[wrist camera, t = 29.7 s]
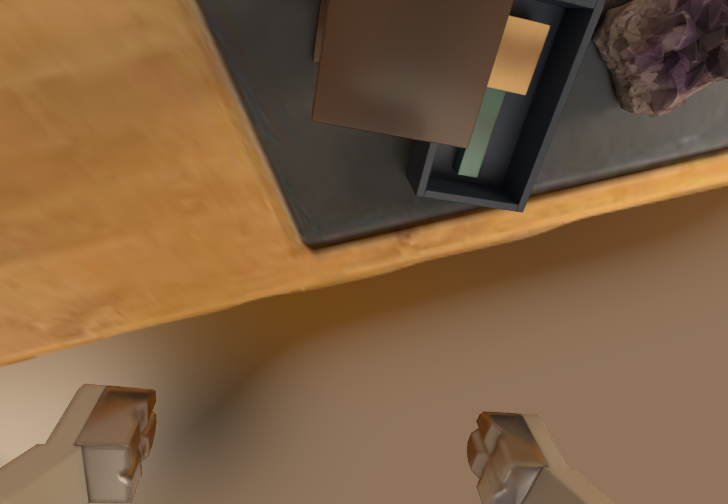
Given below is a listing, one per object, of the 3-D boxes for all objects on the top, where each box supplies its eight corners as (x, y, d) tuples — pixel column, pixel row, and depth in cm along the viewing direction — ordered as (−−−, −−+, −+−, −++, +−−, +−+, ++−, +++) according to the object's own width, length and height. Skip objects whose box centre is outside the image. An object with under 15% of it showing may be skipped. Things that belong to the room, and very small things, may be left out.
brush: (482, 173, 50) (493, 184, 47) (439, 165, 49) (447, 176, 46) (533, 23, 43) (550, 25, 40) (485, 11, 42) (498, 12, 39)
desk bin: (405, 176, 50) (415, 196, 45) (457, -29, 41) (477, -33, 36) (502, 192, 52) (523, 212, 47) (572, 0, 43) (606, 0, 38)
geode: (796, -90, 41) (925, -94, 33) (770, 39, 48) (872, 61, 40) (582, 1, 42) (657, 18, 34) (587, 114, 49) (650, 150, 41)
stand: (312, 60, 43) (311, 121, 22) (329, -64, 39) (349, -145, 17) (393, 76, 45) (468, 149, 23) (418, -41, 40) (542, -89, 18)
